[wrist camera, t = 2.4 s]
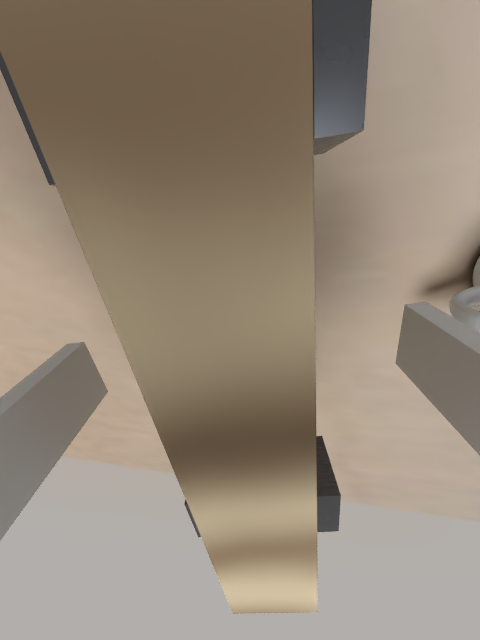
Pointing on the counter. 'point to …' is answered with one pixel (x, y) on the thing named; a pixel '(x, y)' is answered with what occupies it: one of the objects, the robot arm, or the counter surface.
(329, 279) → the counter surface
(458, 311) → the cup
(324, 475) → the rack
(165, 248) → the rail
